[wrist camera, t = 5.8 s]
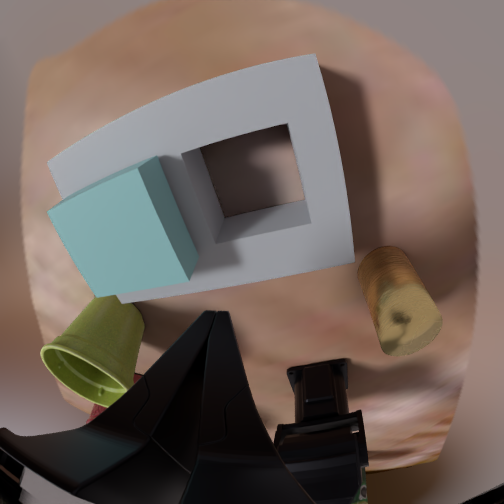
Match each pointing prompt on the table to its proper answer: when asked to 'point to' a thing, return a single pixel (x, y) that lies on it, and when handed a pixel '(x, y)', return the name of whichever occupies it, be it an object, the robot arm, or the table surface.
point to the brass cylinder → (398, 302)
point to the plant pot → (98, 350)
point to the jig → (200, 185)
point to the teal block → (126, 232)
